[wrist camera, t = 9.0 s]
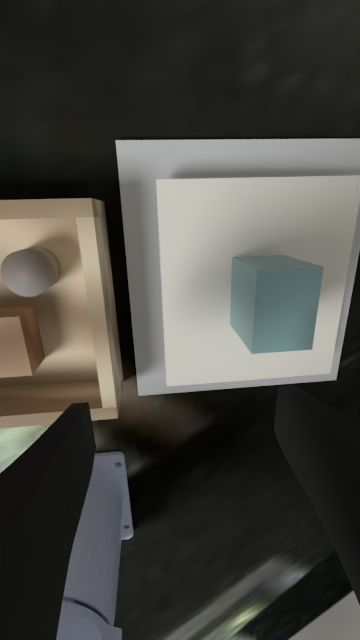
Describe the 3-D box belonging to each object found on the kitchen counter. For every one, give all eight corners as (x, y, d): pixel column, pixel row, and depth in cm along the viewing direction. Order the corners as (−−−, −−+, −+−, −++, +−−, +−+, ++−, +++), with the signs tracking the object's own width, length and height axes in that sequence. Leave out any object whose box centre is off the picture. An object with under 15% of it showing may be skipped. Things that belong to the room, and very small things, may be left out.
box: (123, 381, 21) (117, 418, 17) (-39, 394, 20) (-82, 435, 16) (104, 201, 17) (91, 197, 13) (-101, 206, 16) (-178, 204, 12)
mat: (332, 377, 23) (336, 379, 22) (138, 392, 21) (138, 395, 21) (374, 139, 17) (379, 138, 17) (116, 141, 16) (115, 140, 15)
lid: (314, 359, 21) (373, 411, 16) (165, 370, 20) (171, 429, 15) (340, 179, 17) (432, 162, 12) (155, 183, 16) (158, 167, 11)
